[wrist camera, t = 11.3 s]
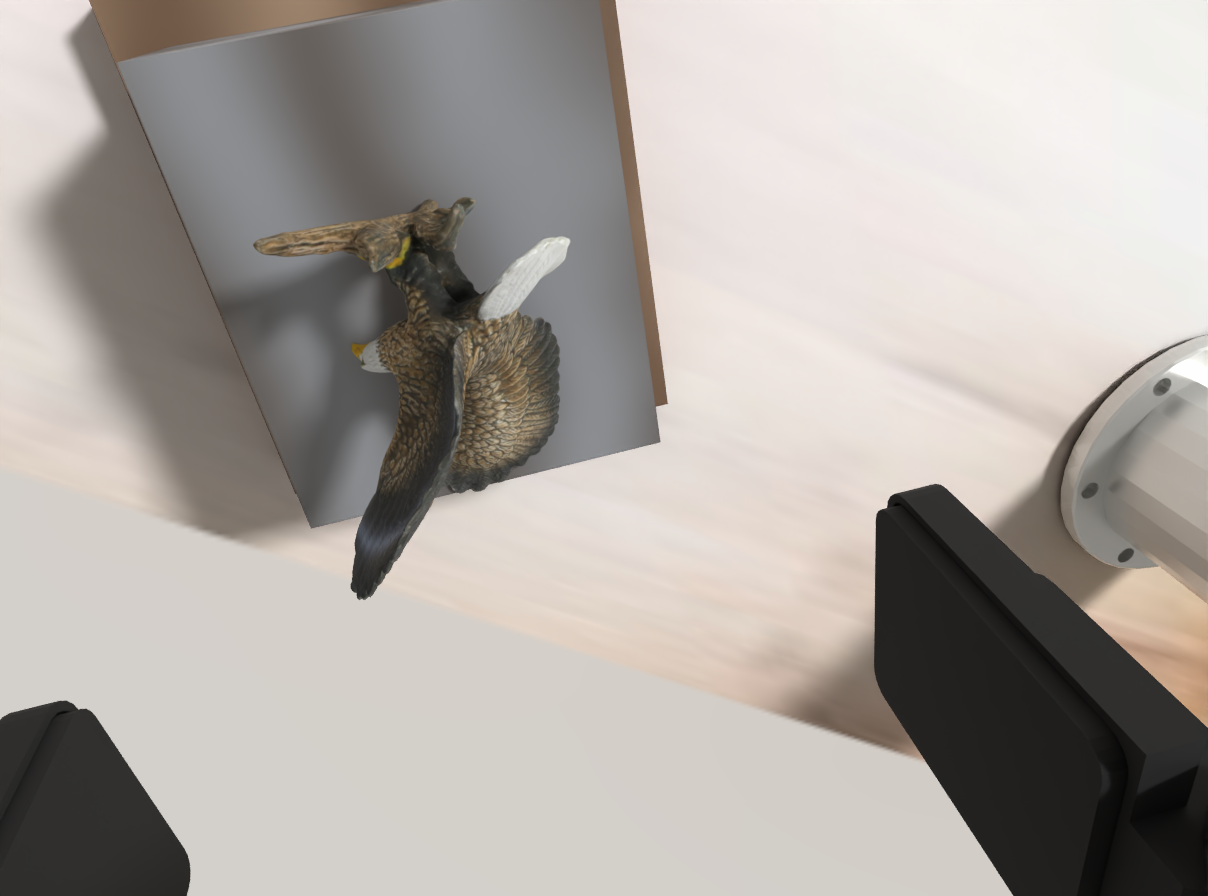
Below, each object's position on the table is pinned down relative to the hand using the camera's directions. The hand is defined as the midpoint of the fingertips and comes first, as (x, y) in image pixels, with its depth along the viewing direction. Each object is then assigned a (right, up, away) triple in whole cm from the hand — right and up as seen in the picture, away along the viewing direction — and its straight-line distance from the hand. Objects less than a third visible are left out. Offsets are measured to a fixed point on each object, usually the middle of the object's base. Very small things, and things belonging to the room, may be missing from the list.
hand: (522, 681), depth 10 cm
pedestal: (-5, +10, +18) cm, 21 cm away
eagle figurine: (-4, +6, +13) cm, 15 cm away
